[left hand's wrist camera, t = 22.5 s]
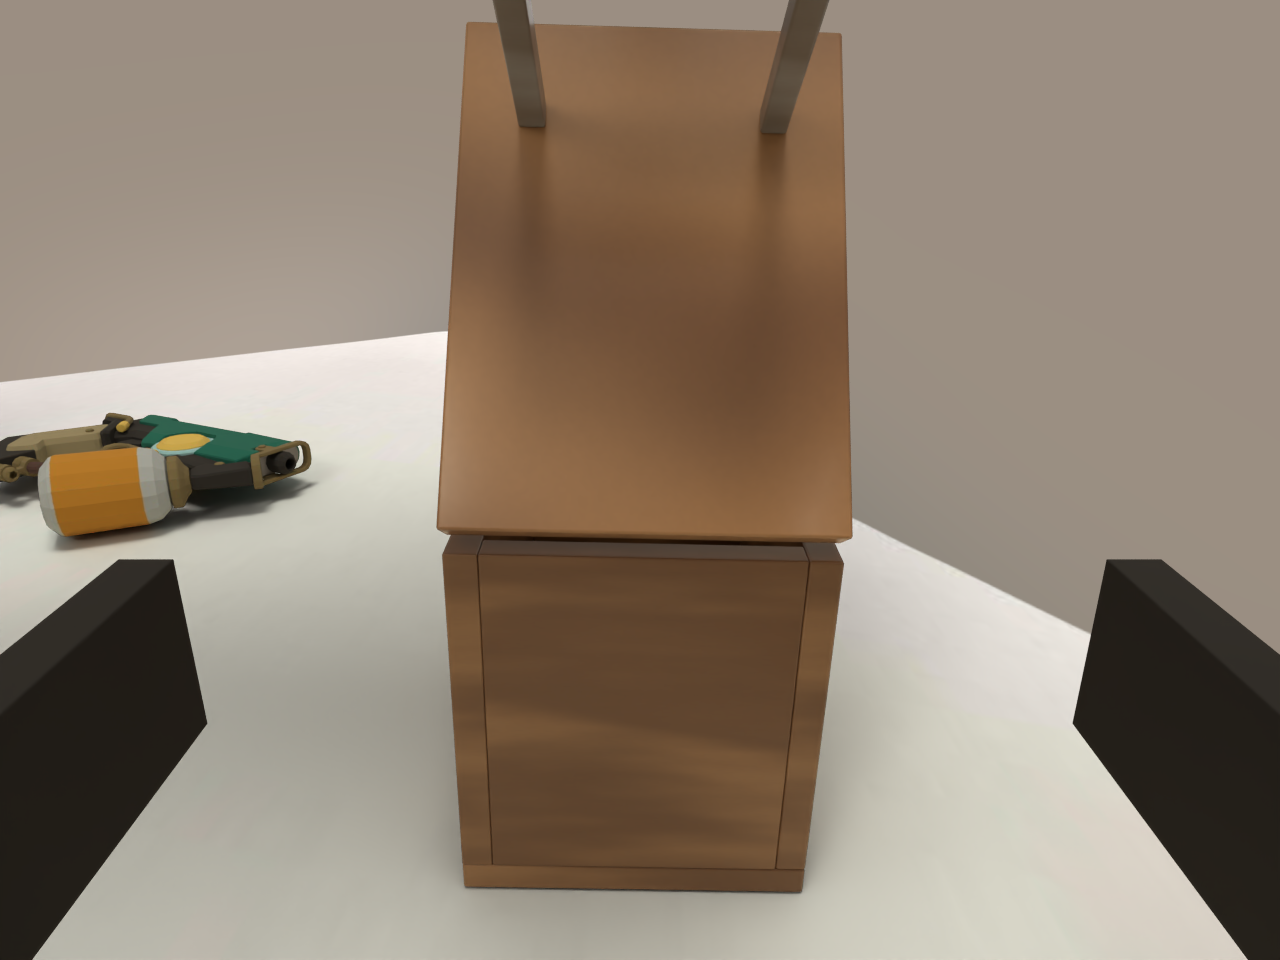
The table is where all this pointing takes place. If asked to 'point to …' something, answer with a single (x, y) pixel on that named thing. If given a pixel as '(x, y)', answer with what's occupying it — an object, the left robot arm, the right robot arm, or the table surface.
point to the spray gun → (139, 468)
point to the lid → (649, 284)
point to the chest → (638, 708)
